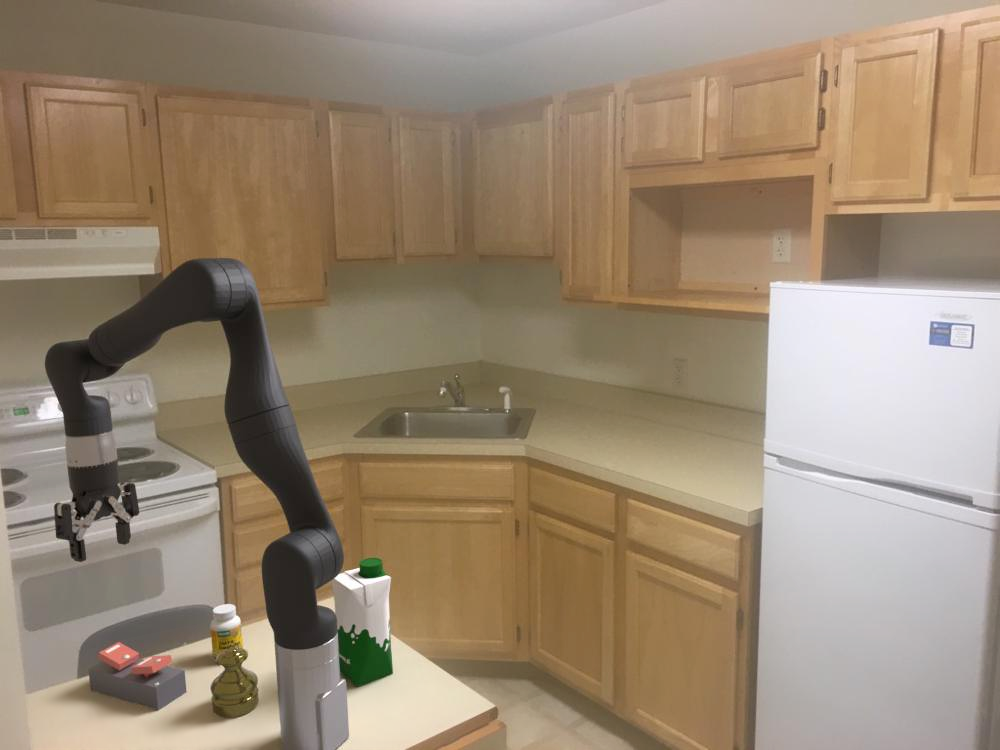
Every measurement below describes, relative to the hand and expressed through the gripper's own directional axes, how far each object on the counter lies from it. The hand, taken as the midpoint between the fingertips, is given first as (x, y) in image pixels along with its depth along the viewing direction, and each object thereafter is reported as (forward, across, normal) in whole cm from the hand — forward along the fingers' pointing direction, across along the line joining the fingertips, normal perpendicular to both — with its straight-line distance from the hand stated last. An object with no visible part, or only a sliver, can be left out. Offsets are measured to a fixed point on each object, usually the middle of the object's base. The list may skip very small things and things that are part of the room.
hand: (102, 551), depth 134 cm
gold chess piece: (+25, +3, -24) cm, 35 cm away
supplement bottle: (+25, +15, -11) cm, 31 cm away
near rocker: (+19, 0, -9) cm, 21 cm away
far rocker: (+19, 0, -1) cm, 19 cm away
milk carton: (+25, +20, -38) cm, 50 cm away
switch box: (+24, 0, -5) cm, 25 cm away
